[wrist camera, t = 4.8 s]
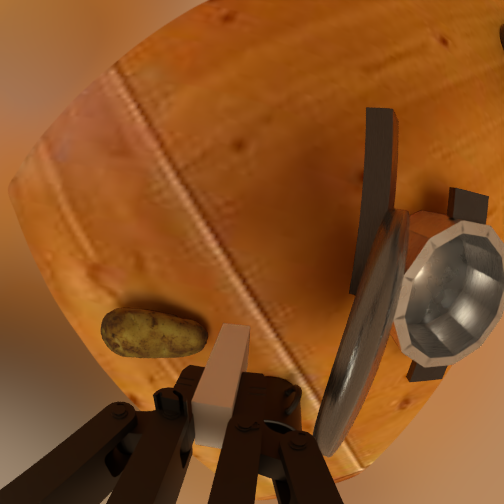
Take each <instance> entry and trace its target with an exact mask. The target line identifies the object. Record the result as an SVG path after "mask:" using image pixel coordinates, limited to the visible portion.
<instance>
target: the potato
mask: <svg viewBox="0 0 504 504" xmlns="http://www.w3.org/2000/svg"><path fill="white" fill-rule="evenodd" d="M101 335H102V339H103V340H104V342H105V344H106V345H107V347H108V348H109V349H110V350H111V351H113V352H114V353H116V354H118V355H120V356H123V357H136V358H176V357H185V356H189V355H193V354H196V353H198V352H200V351H201V350H202V349H203V348H204V346H205V344H206V343H207V339H208V332H207V331H206V330H205V328H204V327H203V326H202V325H200V324H199V323H197V322H196V321H194V320H191V319H182V318H179V317H178V316H176V315H172V314H166V313H161V312H157V311H152V310H144V309H133V308H117V309H115V310H113V311H111V312H109V313H107V314H106V316H105V317H104V318H103V320H102V324H101Z"/></svg>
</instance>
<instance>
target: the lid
mask: <svg viewBox="0 0 504 504" xmlns="http://www.w3.org/2000/svg"><path fill="white" fill-rule="evenodd" d="M397 161H398V119H397V117H396V114H395V112H394V110H393V109H389V108H369V107H366V140H365V162H364V177H363V190H362V201H361V211H360V221H359V229H358V237H357V245H356V252H355V259H354V266H353V272H352V279H351V284H350V290H349V293H350V294H354V295H356V296H355V299H354V302H353V305H352V309H351V312H350V315H349V318H348V321H347V324H346V327H345V330H344V333H343V336H342V339H341V342H340V346H339V349H338V352H337V355H336V358H335V361H334V364H333V367H332V370H331V374H330V377H329V380H328V383H327V386H326V389H325V392H324V396H323V399H322V402H321V405H320V409H319V412H318V416H317V419H316V423H315V427H314V432H313V437H314V438H315V440H316V441H317V444H318V446H319V448H320V451H321V453H322V455H324V456H327V457H331V456H332V455H333V454H334V453H335V452H336V450H337V449H338V448H339V446H340V445H341V443H342V442H343V440H344V439H345V437H346V435H347V434H348V432H349V430H350V428H351V427H352V425H353V423H354V421H355V419H356V417H357V415H358V413H359V411H360V409H361V407H362V405H363V403H364V401H365V399H366V396H367V394H368V392H369V390H370V387H371V385H372V382H373V380H374V377H375V375H376V372H377V370H378V367H379V364H380V362H381V359H382V356H383V353H384V350H385V347H386V344H387V341H388V338H389V335H390V331H391V328H392V324H393V321H394V317H395V313H396V309H397V305H398V301H399V297H400V292H401V288H402V283H403V277H404V272H405V266H406V259H407V252H408V242H409V227H410V219H409V212H408V211H407V210H401V209H395V208H394V202H395V191H396V178H397Z"/></svg>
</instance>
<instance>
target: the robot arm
mask: <svg viewBox="0 0 504 504" xmlns="http://www.w3.org/2000/svg"><path fill="white" fill-rule="evenodd" d="M500 38H501V42H502V45H503V48H504V24H503V25H502V26H501V28H500ZM249 337H250V326H244V325H235V324H226V323H223V325H222V328H221V330H220V333H219V335H218V338H217V340H216V342H215V345H214V347H213V350H212V352H211V355H210V357H209V359H208V362H207V364H206V367H200V366H194V365H189V366H188V367H186V368H185V369H184V370H182V372H181V374H180V376H179V378H178V380H177V382H176V384H175V386H174V388H162V389H160V390H158V391H156V392H155V393H154V394H153V397H154V402H155V408H156V410H154V411H135V409H134V407H133V406H132V405H130V404H129V403H126V402H114V403H111V404H110V405H108V406H107V407H105V408H104V409H103V410H102V411H101V412H99V413H98V414H97V415H96V416H94V417H93V418H92V419H91V420H90V421H88V422H87V423H86V424H84V425H83V426H82V427H81V428H80V429H78V430H77V431H76V432H75V433H73V434H72V435H71V436H70V437H68V438H67V439H66V440H65V441H63V442H62V443H61V444H59V445H58V446H57V447H56V448H54V449H53V450H52V451H51V452H49V453H48V454H47V455H46V456H44V457H43V458H42V459H40V460H39V461H38V462H37V463H35V464H34V465H33V466H31V467H30V468H29V469H27V470H26V471H25V472H23V473H22V474H21V475H20V476H18V477H17V478H15V479H14V480H13V481H12V482H10V483H9V484H8V485H6V486H5V487H3V488H2V489H1V490H0V504H100V503H101V502H102V501H103V499H105V498H106V497H107V496H108V495H109V493H110V492H112V493H111V495H110V497H109V499H108V501H107V503H106V504H176V501H177V498H178V495H179V492H180V489H181V486H182V483H183V480H184V477H185V474H186V471H187V468H188V465H189V462H190V459H191V456H192V450H193V449H192V444H193V441H194V438H195V444H197V445H203V446H208V447H214V448H221V452H220V456H219V461H218V465H217V469H216V473H215V477H214V481H213V485H212V488H211V492H210V497H209V501H208V504H254V501H255V494H256V485H257V477H258V474H260V475H263V476H266V477H269V478H272V481H273V485H274V489H275V493H276V497H277V500H278V504H344V503H343V501H342V499H341V497H340V494H339V492H338V490H337V488H336V485H335V483H334V481H333V478H332V476H331V474H330V472H329V469H328V467H327V465H326V462H325V460H324V458H323V455H322V453H321V451H320V448H319V446H318V444H317V441H316V440H315V438H314V437H313V435H311V434H309V433H308V432H305V431H301V430H293V431H290V432H287V433H286V434H281V433H278V432H275V431H273V430H271V429H270V428H268V426H267V425H266V424H265V422H264V408H265V397H266V386H267V380H266V378H265V376H264V375H263V374H259V373H250V372H246V370H247V364H248V351H249Z"/></svg>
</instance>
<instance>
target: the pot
mask: <svg viewBox="0 0 504 504" xmlns="http://www.w3.org/2000/svg"><path fill="white" fill-rule="evenodd" d="M488 199H489V196H485V195H482V194H478V193H474V192H470V191H467V190H463V189H459V188H451V187H450V188H449V200H448V210H447V215H445V214H440V213H434V212H428V211H422V210H420V211H418V212H416V213H414V214H412V215H410V216H409V219H410V227H409V242H408V252H407V259H406V266H405V272H404V277H403V283H402V288H401V292H400V297H399V301H398V305H397V309H396V313H395V317H394V321H393V324H392V328H391V331H390V335H391V336H392V338H393V339H394V341H395V342H396V344H397V345H398V347H399V348H400V350H401V351H402V353H404V354H405V355H407V356H408V357H410V358H411V359H413V360H412V363H411V365H410V368H409V371H408V373H407V376H406V377H407V379H408V380H409V382H418V381H428V380H437V379H442V378H443V375H444V373H445V371H446V368H447V366H448V365H453V364H455V363H456V362H458V361H460V360H461V359H463V358H464V357H466V356H467V355H469V354H470V353H472V352H473V351H475V350H476V349H478V348H479V347H480V346H481V345H482V344H483V343H484V341H485V340H486V339H487V337H488V336H489V334H490V333H491V332H492V330H493V329H494V327H495V326H496V325H497V323H498V322H499V320H500V319H501V317H502V314H503V310H504V244H503V242H502V241H501V239H500V238H499V237H498V235H497V234H496V232H495V231H494V230H493V228H492V227H491V226H489V225H485V224H486V218H487V209H488ZM355 296H356V295H355Z"/></svg>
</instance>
